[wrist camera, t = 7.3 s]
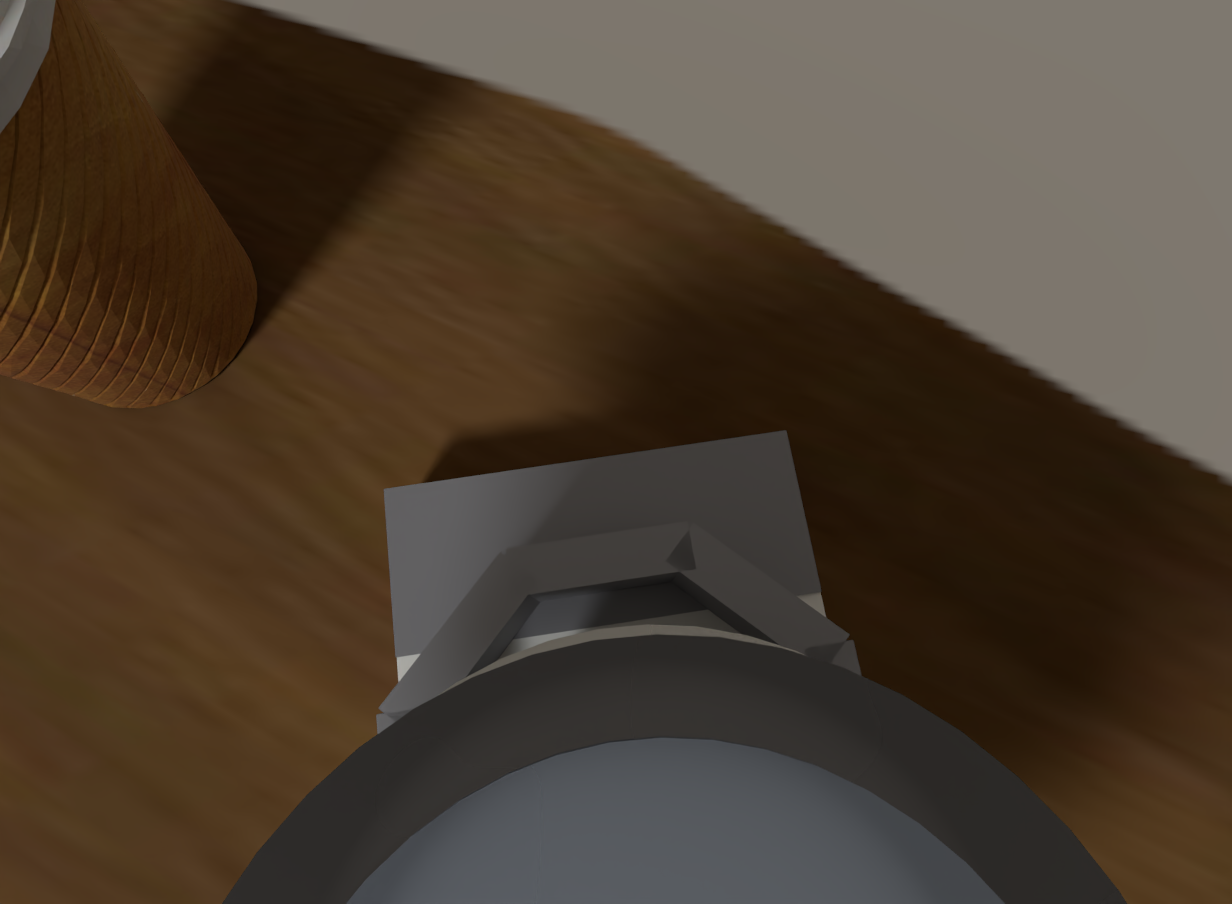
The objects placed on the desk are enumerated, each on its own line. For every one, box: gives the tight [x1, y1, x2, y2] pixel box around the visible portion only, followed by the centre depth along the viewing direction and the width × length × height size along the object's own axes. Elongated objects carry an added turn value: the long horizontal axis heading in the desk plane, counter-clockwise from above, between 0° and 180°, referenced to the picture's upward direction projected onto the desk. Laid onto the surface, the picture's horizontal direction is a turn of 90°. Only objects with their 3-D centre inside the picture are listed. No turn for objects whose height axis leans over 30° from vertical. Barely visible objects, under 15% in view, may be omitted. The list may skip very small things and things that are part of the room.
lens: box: [222, 624, 1127, 904], centre depth 9 cm, size 5×5×13 cm
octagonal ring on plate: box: [376, 430, 861, 734], centre depth 16 cm, size 14×10×4 cm
